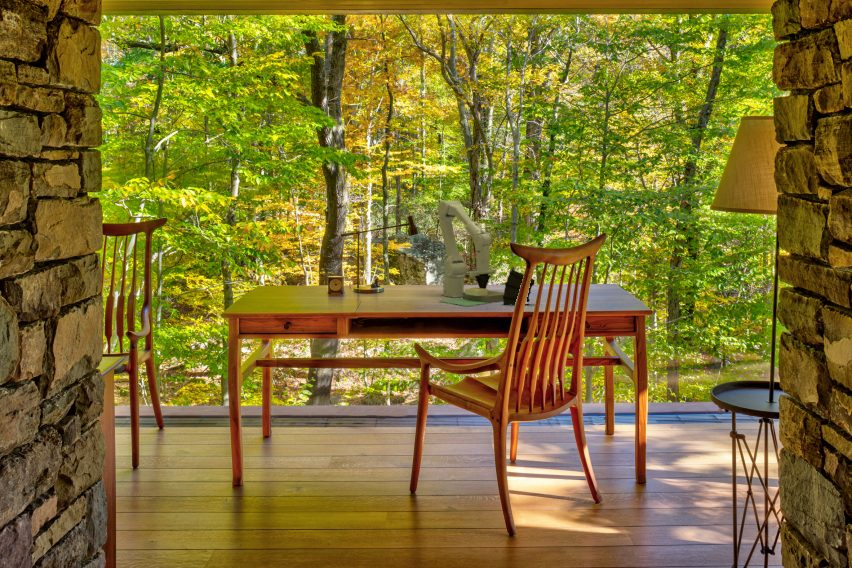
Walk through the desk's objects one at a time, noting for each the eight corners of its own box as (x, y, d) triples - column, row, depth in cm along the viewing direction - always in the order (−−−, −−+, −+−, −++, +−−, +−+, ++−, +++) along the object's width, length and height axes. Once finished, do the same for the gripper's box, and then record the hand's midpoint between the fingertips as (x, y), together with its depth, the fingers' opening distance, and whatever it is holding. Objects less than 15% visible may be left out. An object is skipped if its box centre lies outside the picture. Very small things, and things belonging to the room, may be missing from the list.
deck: (462, 299, 354) (462, 292, 354) (485, 296, 363) (485, 289, 363) (487, 303, 342) (487, 296, 342) (510, 300, 351) (510, 293, 350)
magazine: (495, 299, 341) (511, 268, 339) (523, 313, 341) (539, 282, 338) (495, 301, 338) (511, 269, 335) (523, 314, 337) (539, 283, 335)
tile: (465, 294, 349) (465, 288, 349) (475, 292, 353) (475, 287, 353) (477, 296, 343) (477, 290, 343) (487, 294, 347) (487, 289, 347)
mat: (439, 301, 347) (439, 300, 347) (459, 299, 354) (459, 298, 354) (466, 306, 333) (466, 305, 333) (487, 303, 341) (487, 302, 341)
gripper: (477, 262, 341) (477, 293, 343) (500, 260, 350) (500, 290, 352) (466, 261, 347) (466, 292, 348) (489, 259, 356) (489, 289, 358)
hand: (482, 291), depth 351 cm, fingers closed
